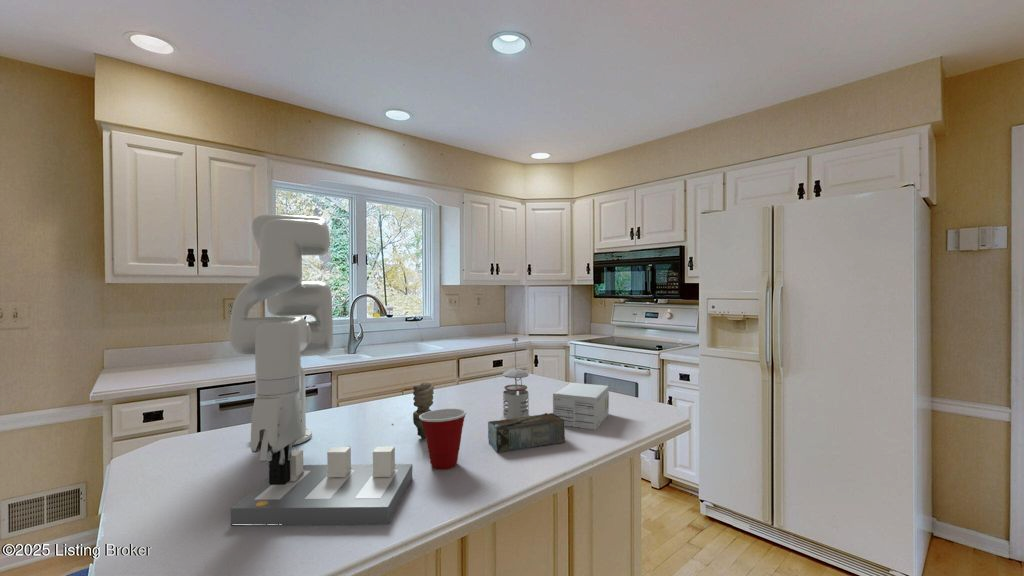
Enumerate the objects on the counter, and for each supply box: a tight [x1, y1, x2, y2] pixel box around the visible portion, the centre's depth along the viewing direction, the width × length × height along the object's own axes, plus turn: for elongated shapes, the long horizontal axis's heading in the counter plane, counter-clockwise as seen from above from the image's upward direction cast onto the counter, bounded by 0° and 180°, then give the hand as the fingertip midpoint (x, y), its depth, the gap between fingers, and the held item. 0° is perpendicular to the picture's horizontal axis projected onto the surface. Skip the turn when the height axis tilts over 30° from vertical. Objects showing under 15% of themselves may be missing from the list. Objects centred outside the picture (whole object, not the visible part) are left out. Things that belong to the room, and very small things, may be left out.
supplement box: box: [552, 382, 610, 431], centre depth 132 cm, size 17×13×9 cm
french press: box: [500, 336, 531, 420], centre depth 134 cm, size 10×12×25 cm
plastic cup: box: [419, 408, 467, 471], centre depth 99 cm, size 11×11×12 cm
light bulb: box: [412, 381, 435, 440], centre depth 116 cm, size 6×6×15 cm
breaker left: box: [288, 449, 304, 481], centre depth 86 cm, size 4×4×5 cm
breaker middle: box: [326, 446, 352, 477], centre depth 87 cm, size 4×4×5 cm
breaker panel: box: [230, 463, 413, 526], centre depth 83 cm, size 27×18×3 cm, turn 90°
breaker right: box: [372, 445, 396, 477], centre depth 87 cm, size 4×4×5 cm
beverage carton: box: [487, 412, 566, 454], centre depth 113 cm, size 8×19×7 cm, turn 110°
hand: (279, 482), depth 82 cm, fingers closed
